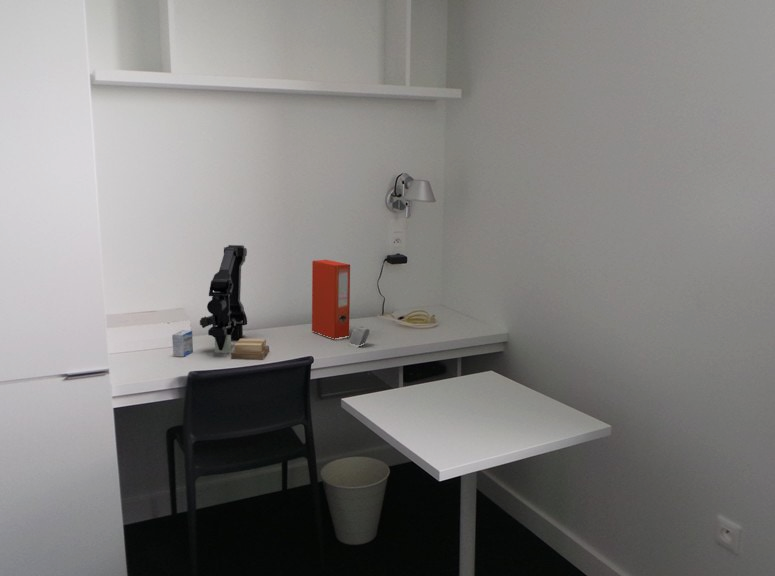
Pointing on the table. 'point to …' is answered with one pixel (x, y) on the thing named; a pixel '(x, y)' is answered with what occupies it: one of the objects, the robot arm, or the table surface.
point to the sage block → (226, 345)
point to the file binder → (330, 298)
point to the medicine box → (182, 343)
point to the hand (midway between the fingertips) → (223, 347)
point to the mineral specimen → (359, 335)
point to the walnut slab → (251, 355)
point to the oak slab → (249, 345)
